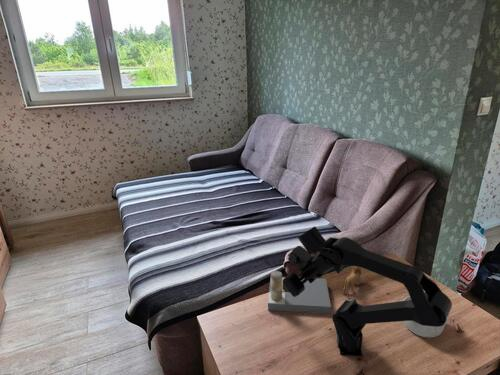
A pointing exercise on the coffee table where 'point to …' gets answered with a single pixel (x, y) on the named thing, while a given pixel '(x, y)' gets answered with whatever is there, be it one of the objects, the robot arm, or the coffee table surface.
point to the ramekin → (423, 327)
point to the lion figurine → (352, 279)
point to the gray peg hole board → (304, 299)
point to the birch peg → (276, 286)
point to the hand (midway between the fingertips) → (292, 283)
